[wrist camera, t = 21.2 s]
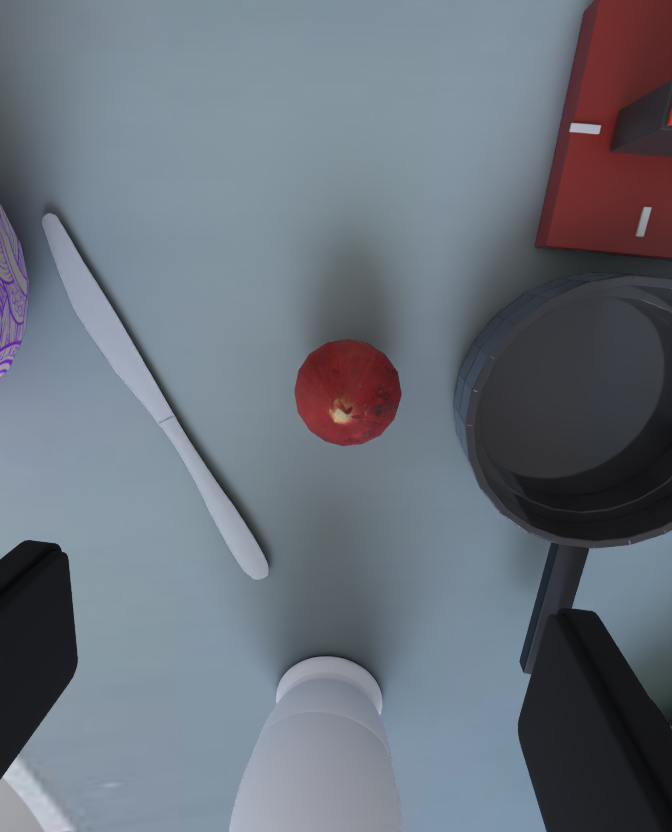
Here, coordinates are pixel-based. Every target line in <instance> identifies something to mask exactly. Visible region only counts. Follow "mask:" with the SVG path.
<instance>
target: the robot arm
mask: <svg viewBox="0 0 672 832" xmlns="http://www.w3.org/2000/svg"><path fill="white" fill-rule="evenodd" d="M77 663H78V656H77V645H76V635H75V624H74V613H73V603H72V592H71V581H70V571H69V560H68V556H67V554H66V553H64V552H62V551H61V548H60V546H59V545H58V544H55V543H48V542H40V541H32V540H27V541H23V542H22V543H20V544H19V545H18V546H16V547H15V548H14V549H13V550H11V551H10V552H9V553H8V554H7V555H5V556H4V557H3V558H2V559H0V779H1V778H2V776H3V775H4V774H5V772H6V771H7V769H8V768H9V767H10V765H11V764H12V762H13V761H14V760H15V758H16V757H17V755H18V754H19V753H20V751H21V750H22V748H23V747H24V746H25V744H26V743H27V741H28V740H29V739H30V737H31V736H32V734H33V733H34V732H35V730H36V729H37V727H38V726H39V725H40V723H41V722H42V720H43V719H44V718H45V716H46V715H47V713H48V712H49V711H50V709H51V708H52V706H53V705H54V704H55V702H56V701H57V699H58V698H59V697H60V695H61V694H62V692H63V691H64V690H65V688H66V687H67V685H68V684H69V683H70V681H71V679H72V678H73V676H74V674H75V671H76V668H77ZM518 735H519V741H520V745H521V748H522V751H523V755H524V758H525V761H526V765H527V768H528V771H529V775H530V778H531V781H532V785H533V788H534V791H535V795H536V798H537V801H538V805H539V808H540V811H541V815H542V818H543V821H544V824H545V828H546V831H547V832H672V729H671V728H670V726H669V725H668V723H667V721H666V720H665V718H664V717H663V715H662V713H661V712H660V710H659V709H658V707H657V706H656V705H655V704H654V702H653V701H652V700H651V699H650V698H649V696H648V695H647V693H646V692H645V690H644V688H643V687H642V685H641V684H640V682H639V680H638V679H637V677H636V676H635V674H634V672H633V671H632V669H631V668H630V666H629V664H628V663H627V661H626V660H625V658H624V656H623V655H622V653H621V651H620V650H619V648H618V647H617V645H616V643H615V642H614V640H613V639H612V637H611V635H610V634H609V632H608V631H607V629H606V627H605V626H604V624H603V623H602V621H601V619H600V618H599V616H598V615H597V614H596V613H595V612H593V611H587V610H579V609H571V608H560V609H559V610H558V612H557V614H556V615H554V614H551V615H549V616H548V618H547V621H546V625H545V628H544V632H543V635H542V639H541V642H540V646H539V649H538V653H537V656H536V660H535V664H534V667H533V671H532V674H531V678H530V681H529V685H528V688H527V692H526V695H525V699H524V702H523V706H522V709H521V713H520V716H519V721H518Z"/></svg>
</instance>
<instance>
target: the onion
mask: <svg viewBox="0 0 672 832" xmlns="http://www.w3.org/2000/svg"><path fill="white" fill-rule="evenodd" d="M401 395H402V394H401V389H400V383H399V377H398V372H397V371H396V369H395V368H394V366H393V365H392V364H391V362H390V361H389V359H388V358H387V357H386V355H385V354H383V353H382V352H380V351H379V350H377V349H376V348H374V347H373V346H371V345H370V344H368V343H364V342H358V341H353V340H349V339H347V340H341V341H335V342H329V343H326V344H324V345H323V346H321V347H320V348H318V349H317V350H315V351H314V352H312V353H311V354H309V356H308V357H307V359H306V360H305V362H304V363H303V365H302V366H301V368H300V369H299V371H298V376H297V381H296V386H295V397H296V403H297V409H298V413H299V415H300V416H301V418H302V419H303V421H304V422H305V424H306V425H307V427H308V428H309V430H310V431H311V432H313V433H314V434H316V435H317V436H318V437H320V438H321V439H323V440H324V441H326V442H330V443H334V444H338V445H342V446H347V445H357V444H363V443H365V442H367V441H369V440H371V439H373V438H375V437H377V436H379V435H381V434H382V432H383V431H384V430H385V429H386V428H387V427H388V426H389V424H390V423H391V422H392V421H393V420H394V418H395V415H396V412H397V408H398V405H399V401H400V398H401Z"/></svg>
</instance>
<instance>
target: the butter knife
mask: <svg viewBox="0 0 672 832" xmlns="http://www.w3.org/2000/svg"><path fill="white" fill-rule="evenodd" d="M42 226H43V229H44V232H45V235H46V237H47V240H48V243H49V246H50V249H51V252H52V255H53V257H54V260H55V263H56V266H57V268H58V271H59V274H60V276H61V279H62V281H63V284H64V286H65V289H66V291H67V294H68V296H69V299H70V301H71V304H72V306H73V309H74V311H75V312H76V314H77V316H78V317H79V319H80V320H81V322H82V323H83V325H84V326H85V328H86V330H87V331H88V333H89V334H90V335H91V337H92V338H93V340H94V341H95V343H96V344H97V345H98V347H99V348H100V350H101V351H102V353H103V354H104V356H105V357H106V358H107V360H108V361H109V363H110V364H111V366H112V367H113V368H114V370H115V371H116V373H117V374H118V375H119V376H120V378H121V379H122V380H123V381H124V382H125V383H126V385H127V386H128V387H129V388H130V389H131V390H132V392H133V393H134V394H135V395H136V396H137V397H138V399H139V400H140V401H141V402H142V403H143V404H144V406H145V407H146V408H147V409H148V411H149V412H150V413H151V415H152V416H153V418H154V419H155V420H156V422H157V423H158V424H159V425H160V427H161V428H162V429H163V431H164V432H165V433H166V435H167V436H168V437H169V439H170V440H171V442H172V443H173V444H174V446H175V448H176V449H177V451H178V453H179V454H180V456H181V458H182V460H183V461H184V463H185V465H186V466H187V468H188V470H189V472H190V473H191V475H192V477H193V478H194V480H195V482H196V484H197V486H198V488H199V490H200V492H201V494H202V496H203V498H204V501H205V503H206V505H207V507H208V509H209V512H210V514H211V516H212V517H213V519H214V521H215V523H216V525H217V527H218V529H219V531H220V532H221V534H222V536H223V538H224V540H225V541H226V543H227V545H228V547H229V549H230V550H231V552H232V554H233V555H234V557H235V558H236V560H237V562H238V563H239V565H240V566H241V567H242V569H243V570H244V571H245V572H246V573H247V574H248V575H250V576H251V577H252V578H253V579H255V580H259V579H262V578H265V577H267V576H268V574H269V571H268V563H267V561H266V559H265V557H264V555H263V553H262V551H261V549H260V547H259V545H258V544H257V542H256V540H255V539H254V537H253V535H252V534H251V532H250V530H249V529H248V527H247V526H246V524H245V522H244V521H243V519H242V518H241V516H240V515H239V513H238V512H237V510H236V509H235V507H234V505H233V504H232V503H231V501H230V500H229V499H228V497H227V496H226V494H225V493H224V492H223V490H222V489H221V487H220V486H219V485H218V483H217V482H216V480H215V479H214V477H213V476H212V474H211V473H210V471H209V470H208V468H207V467H206V465H205V464H204V462H203V461H202V459H201V458H200V456H199V454H198V453H197V451H196V450H195V448H194V447H193V445H192V444H191V442H190V441H189V439H188V437H187V436H186V434H185V433H184V431H183V429H182V427H181V426H180V424H179V422H178V421H177V419H176V417H175V416H174V414H173V412H172V410H171V409H170V407H169V405H168V404H167V402H166V400H165V398H164V397H163V395H162V393H161V391H160V390H159V388H158V386H157V384H156V382H155V381H154V379H153V377H152V375H151V374H150V372H149V370H148V368H147V367H146V365H145V363H144V361H143V360H142V358H141V356H140V354H139V353H138V351H137V349H136V348H135V346H134V344H133V342H132V341H131V339H130V337H129V335H128V334H127V332H126V330H125V328H124V327H123V325H122V323H121V322H120V320H119V318H118V316H117V315H116V313H115V311H114V310H113V308H112V307H111V305H110V303H109V302H108V300H107V298H106V297H105V295H104V294H103V292H102V290H101V289H100V287H99V286H98V284H97V283H96V281H95V279H94V278H93V276H92V275H91V273H90V271H89V270H88V268H87V267H86V265H85V263H84V262H83V260H82V259H81V257H80V255H79V253H78V251H77V250H76V248H75V246H74V244H73V243H72V241H71V239H70V237H69V236H68V234H67V232H66V231H65V229H64V227H63V226H62V224H61V222H60V221H59V219H58V217H57V216H56V215H55V214H50V213H49V214H48V213H47V214H46V215H44V217H43V219H42Z"/></svg>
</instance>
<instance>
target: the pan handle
mask: <svg viewBox="0 0 672 832" xmlns="http://www.w3.org/2000/svg"><path fill="white" fill-rule="evenodd" d="M588 551H589V548H585V547H577V546H569V545H560V544H557V543H554V542H551V546H550V549H549V553H548V557H547V560H546V564H545V568H544V572H543V575H542V579H541V583H540V587H539V590H538V594H537V598H536V601H535V605H534V609H533V613H532V616H531V620H530V624H529V627H528V631H527V635H526V639H525V642H524V646H523V650H522V653H521V657H520V661H519V662H520V665H521V667H522V670H523V672H524V673H528V674H532V671H533V667H534V664H535V660H536V656H537V653H538V649H539V646H540V642H541V639H542V635H543V632H544V628H545V625H546V621H547V618H548V616H549V615H551V614H554V615H556V614H557V612H558V610H559V609H560V608H572V605H573V601H574V598H575V595H576V591H577V588H578V585H579V581H580V578H581V575H582V571H583V568H584V565H585V561H586V558H587V555H588Z"/></svg>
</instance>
